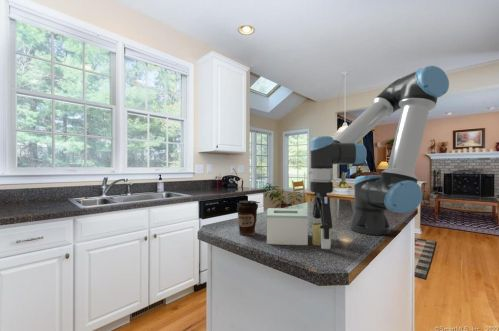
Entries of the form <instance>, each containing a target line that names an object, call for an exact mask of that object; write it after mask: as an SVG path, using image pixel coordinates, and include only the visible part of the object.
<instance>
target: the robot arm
mask: <svg viewBox="0 0 499 331" xmlns="http://www.w3.org/2000/svg"><path fill="white" fill-rule="evenodd" d="M449 86H450V80H449V77H448V75H447V74H446V72H445V71H444V70H443V69H442V68H441V67H439V66H436V65H428V66H425V67H422V68H419V69H417V70H415V71H414V72H412V73H409V74H407V75H404V76H402V77H401V78H398V79H396V80H395V81H393V82H392V83H390V84H388V86H387V87H385V88H384V89H383V90H382V91H381V92H379V94H378V95H377V96H376V97H375V98H374V99H372V101H371V105H370V106H368V107H367V108H366V109H365V110H364V111H363V112H362V113H361V114H360V115H359V116H357V118H355V119H354V120H353V121H351V123H350V124H349V125H348V126H347V127H346V128H345V129H343V130H342V131H341V132H340V133H339V134H338V135H337V136H336V137H334V138H333V137H332V136H328V135H325V136H324V135H322V136H321V135H320V136H314V137H312V138H311V140H310V148H309V150H310V151H309V152H310V171H308V174H309V175H310V180H311V182H310V183H309V184H310V188H309V189H310V192H311V193H314V195H313V196H314V197H313V198H314V199H313V209H312V215H313V216H312V217H313V223H322V226H320V229H321V245H320V248H321V249H322V250H323V249H324V250H326V249H328V250H330V249H331V246H330V229H331V230H332V229H333V220H332V212H331V198H330V197H329V196H328V195H327V194H331V193H333V191H334V184H333V180H334V165H353V166H354V165H361V164H363V163H364V162H365V161H366V159H367V155H368V153H367V148H366V147H365V145H364V144H362V143H359V142H360V141H361V140H362V139H363V138H364V137H365V136H366V135H367V134H369V132H371V130H373V129H374V128H375V127H376V126H377V125H378V124H379V123H380V122H382V120H383V119H385V118H386V117H390V116H391V115H392V114H393V113H396V112H397V111H398V110H401V111H400V112H401V113H400V115H399V120H398V124H397V128H396V132H395V136H394V141H393V144H392V148H391V151H390V156H389V159H388V160H389V161H388V165H387V167H386V168H385V169H384V170H382V171H381V173H380V174H375V175H374V174H373V175H372V174H371V175H360V176H356V177H355V179H354V185H353V187H354V211H353V214H352V218H351V220H350V224H349V228H350V230H351V231H354V232H355V233H356V232H357V233H358V234H359V233H360V234H365V235H371V234H372V235H371V236H373V235H375V236H383V235H382V234H386V235H389V234H391V225H390V224H389V221H388V217H387V215H386V211H389V212H392V213H396V214H397V213H399V214H408V213H412V211H415V210H416V209H417V208H418V207H419V205H421V202H422V200H423V191H422V190H421V189H422V187H421V186H420V185H419V184H418V181H419V178H418V177H417V175H415V171H416V167H417V162H418V158H419V154H420V150H421V147H422V142H423V138H424V134H425V131H426V126H427V121H428V119H429V114H430V111H432V110H433V109H435V108H436V105H437V102H438V98H441V97H443V96H444V95H445V94H447V92H448V90H449V88H450V87H449Z"/></svg>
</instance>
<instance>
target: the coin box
mask: <svg viewBox="0 0 499 331" xmlns="http://www.w3.org/2000/svg"><path fill="white" fill-rule="evenodd" d="M308 218H309V215H308V214H307V213H306V212H305V210H304V209H303V208H282V207H281V208H279V207H278V208H276V207H275V208H272V207H269V208H267V210H266V244H267V245H286V246H308V245H309V242H308V241H309V239H308V238H309V233H308V232H309V229H308V228H309V225H308V224H309V219H308Z"/></svg>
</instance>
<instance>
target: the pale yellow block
mask: <svg viewBox="0 0 499 331" xmlns="http://www.w3.org/2000/svg"><path fill="white" fill-rule="evenodd" d="M320 226H322V223H314V222H312V223H311V243H312V245H313V246H321V229H320ZM331 246H332V228H331V229H330V247H331Z"/></svg>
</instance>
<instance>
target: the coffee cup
mask: <svg viewBox="0 0 499 331" xmlns="http://www.w3.org/2000/svg"><path fill="white" fill-rule="evenodd" d="M236 205H237V207H236V209H237V220H238V221H237V222H238V223H237V224H238V230H239V231H238V232H239V234H240V235H242V236H252V235H256V224H257V214H258V208H259V204H258V203H257V201H256V200H239V202H238V203H237V204H236Z"/></svg>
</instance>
